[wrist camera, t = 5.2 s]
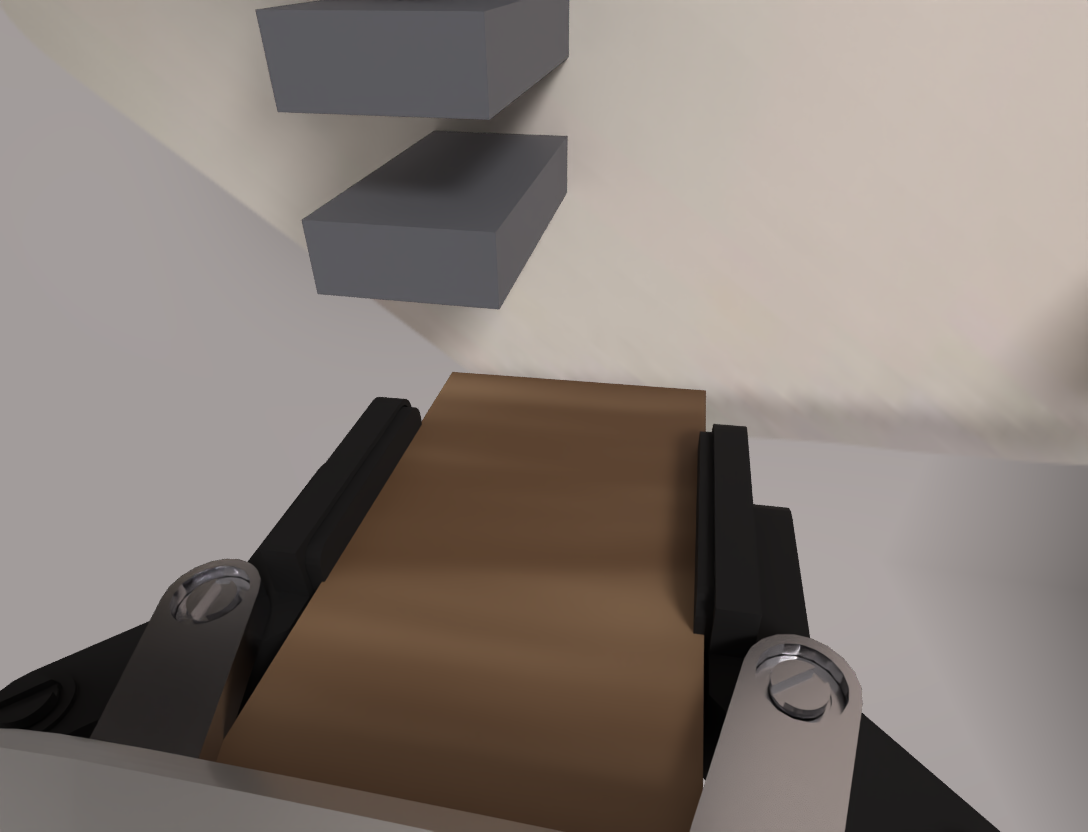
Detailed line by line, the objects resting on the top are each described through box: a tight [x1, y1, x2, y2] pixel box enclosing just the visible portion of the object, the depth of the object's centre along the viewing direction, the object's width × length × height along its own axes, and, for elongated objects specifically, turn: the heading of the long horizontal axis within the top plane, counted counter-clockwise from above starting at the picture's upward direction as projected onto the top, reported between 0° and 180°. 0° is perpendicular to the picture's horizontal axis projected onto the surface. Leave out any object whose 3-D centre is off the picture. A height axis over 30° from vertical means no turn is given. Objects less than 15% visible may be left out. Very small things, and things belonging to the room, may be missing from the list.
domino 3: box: [216, 372, 706, 832], centre depth 10 cm, size 2×5×10 cm, turn 93°
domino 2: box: [302, 131, 568, 309], centre depth 21 cm, size 2×5×10 cm, turn 91°
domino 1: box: [256, 0, 569, 120], centre depth 18 cm, size 2×5×10 cm, turn 90°
